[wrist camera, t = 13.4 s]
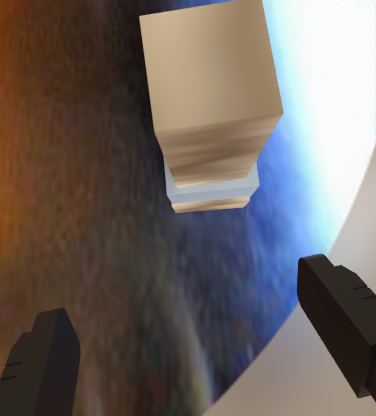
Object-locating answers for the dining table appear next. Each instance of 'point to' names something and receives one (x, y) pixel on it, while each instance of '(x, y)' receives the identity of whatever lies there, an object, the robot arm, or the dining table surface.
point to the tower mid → (212, 188)
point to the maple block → (211, 89)
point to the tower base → (211, 204)
